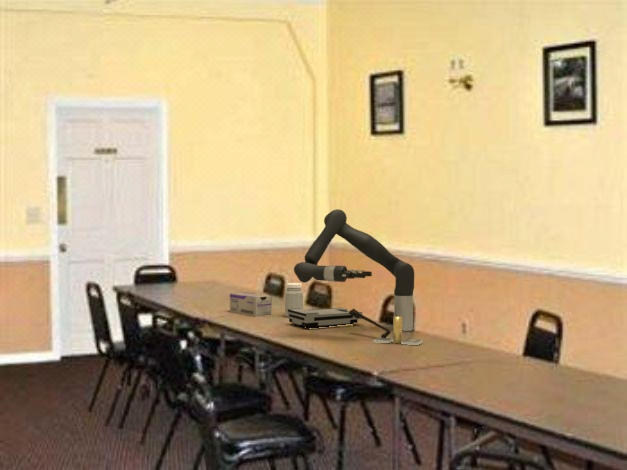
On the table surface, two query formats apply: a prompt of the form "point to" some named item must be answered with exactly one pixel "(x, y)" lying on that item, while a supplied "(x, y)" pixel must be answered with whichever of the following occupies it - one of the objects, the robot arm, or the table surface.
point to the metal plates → (406, 341)
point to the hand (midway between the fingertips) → (368, 274)
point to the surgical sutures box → (250, 304)
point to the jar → (293, 297)
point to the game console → (321, 317)
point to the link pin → (397, 329)
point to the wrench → (357, 315)
